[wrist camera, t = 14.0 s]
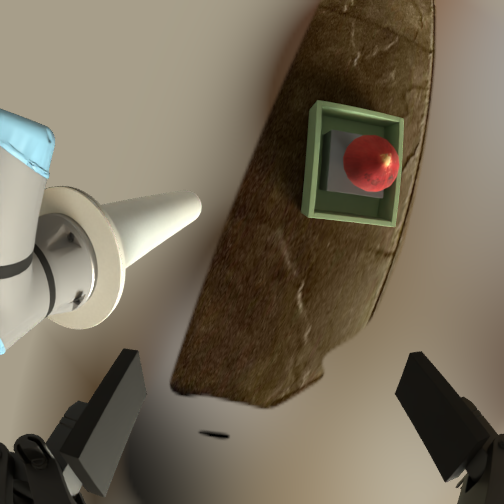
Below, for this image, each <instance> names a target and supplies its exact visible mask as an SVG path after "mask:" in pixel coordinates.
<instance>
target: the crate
mask: <svg viewBox="0 0 504 504" xmlns="http://www.w3.org/2000/svg"><path fill="white" fill-rule="evenodd" d="M403 127H404V119H403V118H399V117H395V116H392V115H388V114H384V113H380V112H376V111H371V110H367V109H362V108H358V107H353V106H348V105H343V104H337V103H332V102H326V101H319V100H317V101H316V103H315V104H314V105H313V106H312V108H311V109H310V110H309V122H308V137H307V151H306V164H305V175H304V187H303V198H302V208H301V213H303V214H304V215H306V216H307V217H311V218H320V219H330V220H339V221H348V222H357V223H366V224H374V225H382V226H390V227H395V224H396V217H397V209H398V201H399V191H400V181H401V169H402V153H403ZM330 130H337V131H343V132H349V133H354V134H360V135H377V136H380V137H382V138H384V139H386V140H388V141H389V142H390V144H391V145H392V146H393V147H394V148H395V150H396V152H397V154H398V156H399V165H400V166H399V170H398V174H397V177H396V179H395V180H394V182H393V183H392V185H391V186H389V187H387V188H385V189H384V192H383V198H376V197H369V196H362V195H355V194H348V193H340V192H333V191H325V190H319V186H320V174H321V162H322V149H323V135H324V134H326V133H327V132H329V131H330Z"/></svg>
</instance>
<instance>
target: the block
mask: <svg viewBox="0 0 504 504" xmlns="http://www.w3.org/2000/svg"><path fill="white" fill-rule="evenodd" d="M360 136H363V135H360V134H354V133H349V132H343V131H337V130H330V131H329V132H327V133H326V134H324V135H323V149H322V162H321V174H320V186H319V190H325V191H333V192H340V193H348V194H355V195H362V196H369V197H376V198H383V192H384V189H383V190H381V191H378V192H372V191H365V190H363V189H361V188H359V187H357V186H355V185H354V184H353V183H352V182H351V181H350V180H349V179H348V177H347V175H346V173H345V170H344V166H343V156H344V154H345V151H346V148H347V147H348V146H349V144H350V143H351V142H352V141H353V140H354V139H356V138H358V137H360Z"/></svg>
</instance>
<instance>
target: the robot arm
mask: <svg viewBox="0 0 504 504" xmlns="http://www.w3.org/2000/svg"><path fill="white" fill-rule="evenodd" d="M54 146H55V137H54V134H53V132H52V131H51V130H50V129H49V128H48V127H47V126H45V125H42V124H40V123H37V122H35V121H32V120H29V119H27V118H24V117H22V116H19V115H16V114H14V113H11V112H8V111H5V110H3V109H0V354H4V353H5V351H6V350H7V349H8V348H9V347H10V346H11V345H13V344H14V343H15V342H16V341H17V340H19V339H20V338H21V337H22V336H23V335H25V334H26V333H27V332H28V331H30V330H31V329H32V328H33V327H34V326H36V325H37V324H38V323H39V322H41V321H42V320H43V319H44V318H46V317H47V316H50V315H55V314H61V313H66V312H71V311H74V310H76V309H78V308H80V307H81V306H82V305H83V304H85V303H86V302H87V301H88V300H89V299H90V297H91V296H92V294H93V292H94V290H95V287H96V284H97V278H98V265H97V258H96V254H95V251H94V248H93V245H92V243H91V240H90V239H89V237H88V235H87V233H86V232H85V230H84V229H83V228H82V227H81V225H80V224H79V223H78V222H76V221H75V220H74V219H73V218H71V217H69V216H67V215H65V214H62V213H49V214H44V215H41V216H39V212H40V207H41V203H42V198H43V194H44V189H45V185H46V181H47V179H48V178H49V167H50V162H51V158H52V154H53V150H54ZM146 394H147V393H146V388H145V384H144V379H143V374H142V368H141V363H140V357H139V352H138V350H130V349H123V350H122V352H121V353H120V355H119V356H118V358H117V359H116V361H115V362H114V364H113V365H112V367H111V368H110V370H109V371H108V373H107V374H106V376H105V377H104V379H103V380H102V382H101V384H100V385H99V387H98V388H97V390H96V391H95V393H94V394H93V396H92V398H91V399H90V401H89V402H88V403H84V402H81V401H77V402H76V403H75V404H73V405H72V406H71V407H69V408H68V410H67V411H66V413H65V414H64V417H62V419H61V420H60V423H59V424H58V425H57V426H56V428H55V430H54V431H53V433H52V434H51V436H50V438H49V439H48V441H47V442H46V443H45V442H44V440H43V439H42V438H41V437H39V436H38V435H34V434H26V435H23V436H21V437H19V438H18V439H17V440H16V442H15V444H14V451H15V453H14V452H9V450H8V449H7V448H6V446H5V445H4V444H2V443H0V504H86V503H85V501H84V499H83V497H82V494H81V493H80V491H79V490H80V488H81V486H82V485H83V486H84V488H85V489H86V490H87V491H88V492H91V493H94V494H96V495H99V496H102V497H105V496H106V494H107V491H108V488H109V485H110V483H111V480H112V478H113V475H114V472H115V470H116V467H117V464H118V462H119V460H120V457H121V455H122V452H123V450H124V447H125V445H126V442H127V440H128V437H129V435H130V432H131V430H132V428H133V425H134V423H135V420H136V418H137V416H138V413H139V411H140V409H141V406H142V404H143V401H144V399H145V397H146ZM395 395H396V396H397V398H398V400H399V401H400V403H401V405H402V407H403V408H404V410H405V412H406V413H407V415H408V417H409V418H410V420H411V422H412V423H413V425H414V427H415V429H416V430H417V432H418V434H419V436H420V438H421V439H422V441H423V443H424V445H425V446H426V448H427V450H428V452H429V453H430V455H431V457H432V459H433V461H434V463H435V464H436V466H437V468H438V470H439V472H440V474H441V476H442V478H443V479H444V481H445V482H448V481H450V480H453V479H454V478H457V477H459V475H460V474H461V473H462V472H463V471H464V470H465V469H466V470H467V474H466V475H465V476H464V477H463V479H462V480H461V481H460V482H459V483H458V484H457V486H456V488H458V487H459V486H460V485H461V484H462V483H463V485H462V487H461V492H460V496H459V500H458V503H457V504H504V434H500V435H498V434H497V433H496V432H495V430H494V429H493V428H492V426H491V425H490V424H489V423H488V422H487V420H486V419H485V418H484V416H482V415H481V413H480V411H479V410H477V408H476V407H475V405H474V404H473V403H472V402H471V401H469V400H468V399H466V398H465V397H460V396H459V395H458V394H457V392H455V390H454V389H453V388H452V387H451V385H450V384H449V383H448V382H447V381H446V379H445V378H444V377H443V376H442V374H441V373H440V372H439V371H438V370H437V369H436V367H435V366H434V365H433V364H432V363H431V362H430V361H429V359H427V357H426V356H425V355H424V354H423V353H422V351H421V352H413V353H410V354H409V357H408V360H407V363H406V366H405V368H404V371H403V374H402V377H401V379H400V382H399V385H398V387H397V390H396V393H395Z"/></svg>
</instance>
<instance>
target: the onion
mask: <svg viewBox="0 0 504 504" xmlns="http://www.w3.org/2000/svg"><path fill="white" fill-rule="evenodd" d="M343 166H344V170H345V173H346V175H347V177H348V179H349V180H350V181H351V182H352V183H353V184H354V185H355V186H357V187H359V188H361V189H363V190H365V191H372V192H378V191H381V190H383V189H385V188H387V187H389V186H391V185H392V183H393V182H394V180H395V179H396V177H397V174H398V170H399V166H400V165H399V156H398V154H397V152H396V150H395V148H394V147H393V146H392V145H391V144H390V142H389V141H388V140H386V139H384V138H382V137H380V136H377V135H363V136H360V137H358V138H356V139H354V140H353V141H352V142H351V143H350V144H349V146H348V147H347V148H346V151H345V154H344V156H343Z"/></svg>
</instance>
